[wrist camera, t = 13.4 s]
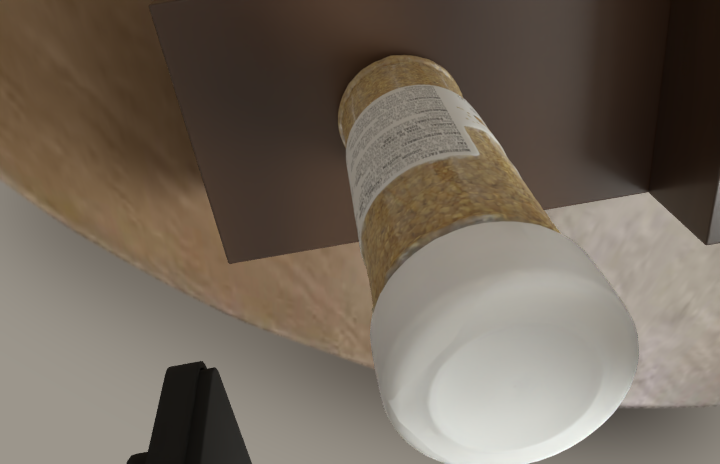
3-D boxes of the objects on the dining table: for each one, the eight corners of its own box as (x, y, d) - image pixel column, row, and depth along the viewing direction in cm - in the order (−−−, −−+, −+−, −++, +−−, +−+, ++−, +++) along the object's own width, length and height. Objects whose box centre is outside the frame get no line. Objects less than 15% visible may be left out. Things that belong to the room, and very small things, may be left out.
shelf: (239, 195, 30) (217, 330, 21) (178, -25, 24) (116, 35, 16) (607, 132, 30) (734, 241, 21) (624, -100, 24) (802, -81, 16)
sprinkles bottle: (473, 149, 23) (657, 439, 11) (357, 188, 23) (421, 507, 12) (444, 29, 20) (639, 242, 9) (315, 75, 21) (344, 335, 9)
